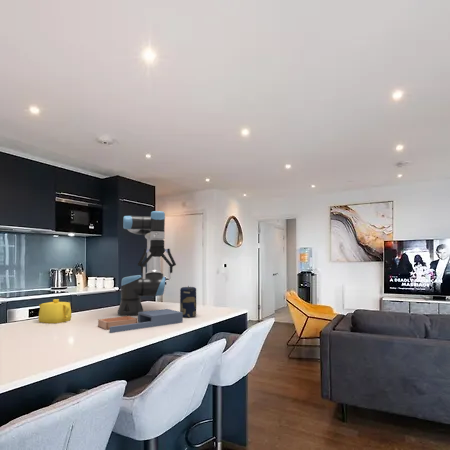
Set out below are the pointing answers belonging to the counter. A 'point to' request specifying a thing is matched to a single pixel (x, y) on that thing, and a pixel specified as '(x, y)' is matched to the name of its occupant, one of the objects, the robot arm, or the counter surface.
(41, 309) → the teapot
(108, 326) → the dish
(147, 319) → the blue-grey box with strip
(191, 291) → the canister
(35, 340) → the counter surface
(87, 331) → the counter surface
